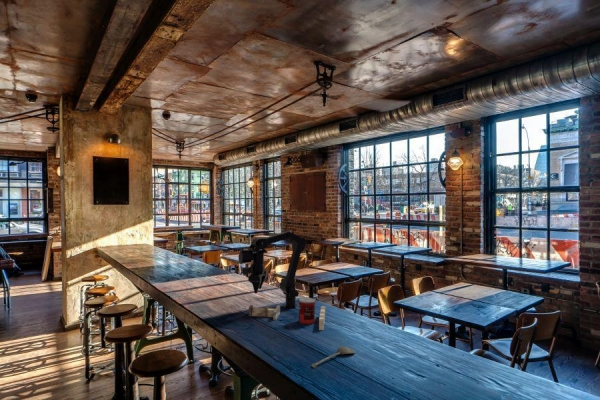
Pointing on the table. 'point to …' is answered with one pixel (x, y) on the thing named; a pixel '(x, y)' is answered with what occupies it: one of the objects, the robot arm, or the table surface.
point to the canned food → (306, 311)
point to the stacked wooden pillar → (265, 312)
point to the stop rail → (322, 318)
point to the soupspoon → (340, 351)
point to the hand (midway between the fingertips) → (257, 291)
